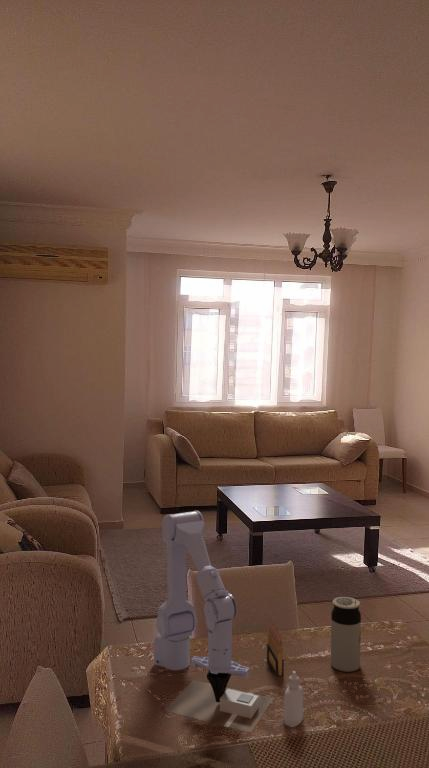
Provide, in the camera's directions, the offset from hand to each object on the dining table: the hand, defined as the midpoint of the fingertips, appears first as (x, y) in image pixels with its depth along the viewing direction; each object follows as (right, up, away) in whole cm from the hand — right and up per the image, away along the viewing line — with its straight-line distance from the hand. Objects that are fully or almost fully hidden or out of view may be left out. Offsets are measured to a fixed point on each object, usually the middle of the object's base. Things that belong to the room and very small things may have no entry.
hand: (219, 700), depth 161 cm
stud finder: (+5, -1, -2) cm, 5 cm away
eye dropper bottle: (+17, -3, -5) cm, 18 cm away
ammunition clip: (+15, -1, +20) cm, 25 cm away
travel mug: (+35, -1, +22) cm, 41 cm away
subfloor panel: (-1, -2, +1) cm, 2 cm away
